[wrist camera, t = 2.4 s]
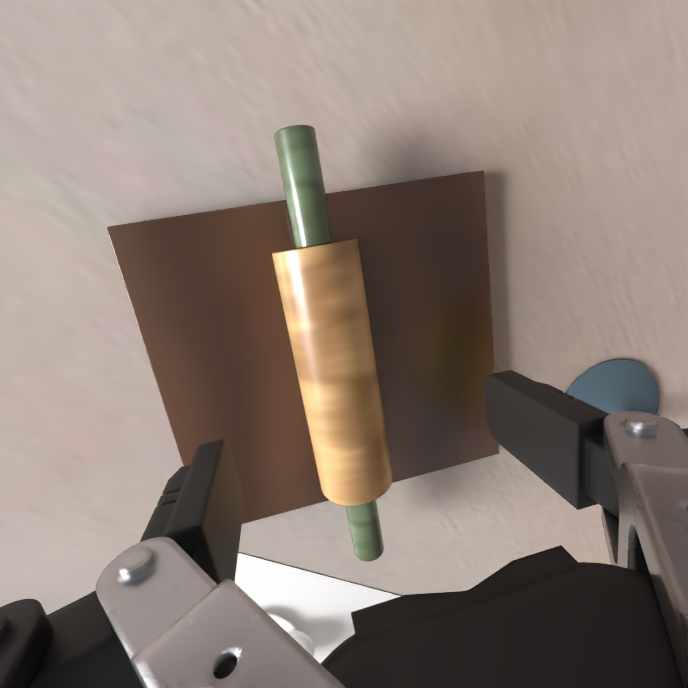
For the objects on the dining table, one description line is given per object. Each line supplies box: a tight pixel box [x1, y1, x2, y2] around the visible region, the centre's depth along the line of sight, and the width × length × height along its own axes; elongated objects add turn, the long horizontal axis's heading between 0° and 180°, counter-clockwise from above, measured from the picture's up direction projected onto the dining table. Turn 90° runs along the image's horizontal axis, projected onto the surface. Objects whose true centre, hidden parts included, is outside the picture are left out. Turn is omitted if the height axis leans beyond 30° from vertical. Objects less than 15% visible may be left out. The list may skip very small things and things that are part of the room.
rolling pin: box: [272, 125, 392, 561], centre depth 23 cm, size 5×28×5 cm, turn 9°
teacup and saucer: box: [267, 612, 315, 657], centre depth 30 cm, size 9×8×4 cm
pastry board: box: [106, 170, 499, 524], centre depth 27 cm, size 24×22×1 cm
